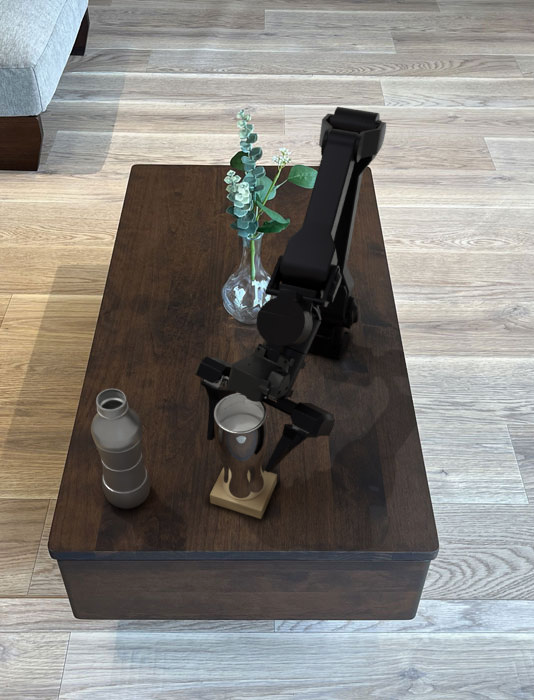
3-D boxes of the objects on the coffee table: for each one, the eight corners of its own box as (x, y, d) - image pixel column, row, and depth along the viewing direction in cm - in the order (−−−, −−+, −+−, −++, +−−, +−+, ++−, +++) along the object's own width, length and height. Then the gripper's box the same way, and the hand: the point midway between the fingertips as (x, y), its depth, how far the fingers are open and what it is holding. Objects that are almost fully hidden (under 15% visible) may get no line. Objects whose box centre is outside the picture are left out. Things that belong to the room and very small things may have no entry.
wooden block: (227, 467, 114) (227, 459, 113) (276, 482, 113) (277, 474, 111) (210, 503, 110) (209, 494, 109) (261, 519, 108) (261, 511, 107)
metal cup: (226, 508, 107) (220, 440, 96) (213, 468, 112) (206, 398, 101) (275, 496, 108) (275, 426, 98) (261, 456, 113) (259, 386, 102)
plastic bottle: (128, 468, 114) (111, 371, 100) (162, 493, 111) (149, 397, 97) (94, 497, 111) (72, 401, 97) (129, 523, 108) (110, 428, 94)
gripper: (199, 309, 99) (150, 423, 100) (329, 370, 91) (275, 493, 92) (236, 321, 109) (191, 424, 110) (356, 377, 101) (307, 487, 103)
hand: (238, 455), depth 103 cm, fingers open, 9 cm apart
